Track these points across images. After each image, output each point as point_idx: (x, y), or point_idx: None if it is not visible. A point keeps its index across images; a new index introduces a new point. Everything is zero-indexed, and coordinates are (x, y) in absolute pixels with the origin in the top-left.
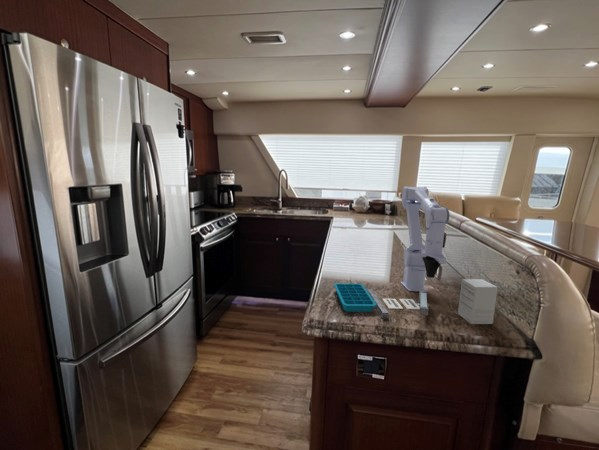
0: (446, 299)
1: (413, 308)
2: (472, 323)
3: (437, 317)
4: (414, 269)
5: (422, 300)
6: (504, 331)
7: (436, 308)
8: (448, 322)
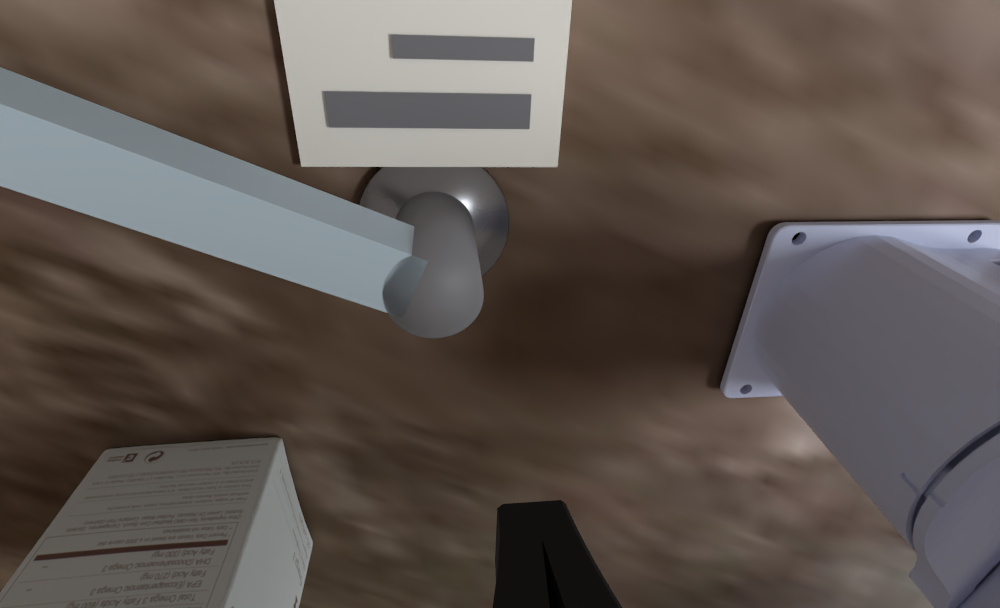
0: (553, 458)
1: (288, 66)
2: (101, 459)
3: (146, 250)
4: (994, 439)
5: (55, 147)
6: None
7: (362, 321)
8: (64, 303)
